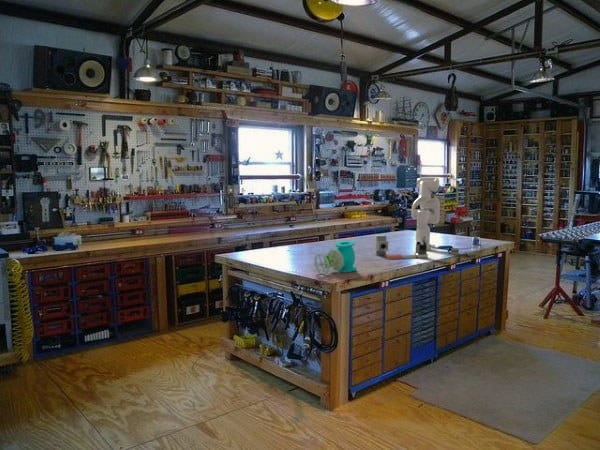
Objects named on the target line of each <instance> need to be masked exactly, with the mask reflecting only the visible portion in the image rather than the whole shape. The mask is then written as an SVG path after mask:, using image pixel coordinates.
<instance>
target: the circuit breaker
mask: <svg viewBox="0 0 600 450" xmlns="http://www.w3.org/2000/svg"><path fill="white" fill-rule="evenodd" d="M372 239H373V247H372V251H373V253H372V254H373V255H375V256H385V255H387V253H386V252H389V241H388V240H387V235H384V234H374V235H373V238H372Z"/></svg>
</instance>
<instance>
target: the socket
mask: <svg viewBox="0 0 600 450" xmlns="http://www.w3.org/2000/svg"><path fill="white" fill-rule="evenodd" d="M426 250H427V245H426ZM426 250H424V251H422V244H415V253H417V254H426V253H427V251H426Z"/></svg>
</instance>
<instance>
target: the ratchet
mask: <svg viewBox="0 0 600 450" xmlns="http://www.w3.org/2000/svg"><path fill="white" fill-rule="evenodd" d="M428 256H429V254H428V253H427V252H426V254H417V253H416V252H414V253H413V254H398V253H397V254H386V255H384V259H386V260H401V259H403V260H404V259H418V260H419V259H420V260H422V259H423V260H425V259H428Z"/></svg>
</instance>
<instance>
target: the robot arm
mask: <svg viewBox="0 0 600 450" xmlns="http://www.w3.org/2000/svg"><path fill="white" fill-rule="evenodd" d="M416 185H417V188H418V198H416V199H415V200H414V202H413V203H412V205H411V212H410V213H411V218H412V219H414V220H416V230H415V241H416V242H415V243H416V244H422V251H424V250H426V245H427V250H426V252H427V251H431V250H432V248H436V244H431V243H430V241H431V227H430V226H429V225H428V224H438V223H440V216H441V215H440V214H441V213H440V212H441V203H440V199H438V198H431V197H432V196H431V195H432V193H431V192H438V191H439V186H440V179H439V178H438V177H432V176H431V177H427V176H426V177H424V176H423V177H418V178H417V179H416ZM418 206H419V207H420V209H419V208H417V207H418ZM416 244H415V245H416Z"/></svg>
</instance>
